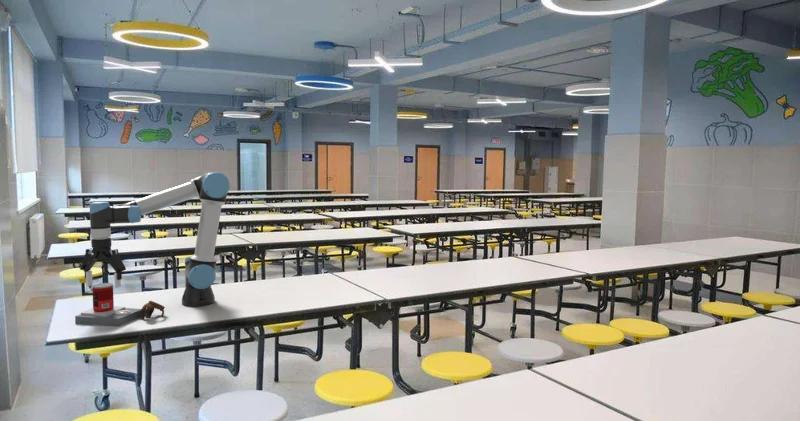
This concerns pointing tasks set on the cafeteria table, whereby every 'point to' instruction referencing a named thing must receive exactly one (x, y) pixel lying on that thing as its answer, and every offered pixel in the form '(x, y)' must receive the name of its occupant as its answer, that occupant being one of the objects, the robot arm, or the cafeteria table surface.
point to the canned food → (102, 297)
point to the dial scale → (108, 316)
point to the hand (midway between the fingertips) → (103, 286)
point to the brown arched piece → (150, 309)
